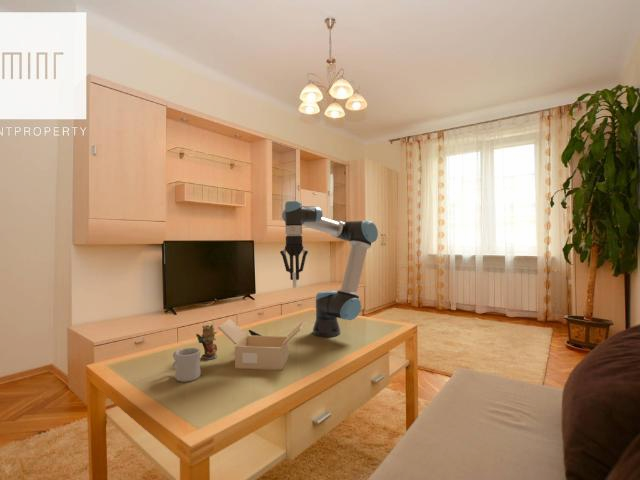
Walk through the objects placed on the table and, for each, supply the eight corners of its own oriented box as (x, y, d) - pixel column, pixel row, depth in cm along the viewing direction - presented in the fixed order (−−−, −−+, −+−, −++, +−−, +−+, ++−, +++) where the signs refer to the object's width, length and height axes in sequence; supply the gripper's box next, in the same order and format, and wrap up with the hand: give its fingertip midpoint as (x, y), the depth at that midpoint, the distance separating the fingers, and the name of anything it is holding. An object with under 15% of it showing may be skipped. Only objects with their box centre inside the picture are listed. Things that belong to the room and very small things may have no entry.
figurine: (221, 355, 150) (221, 322, 150) (210, 361, 143) (210, 327, 143) (204, 353, 153) (204, 320, 153) (192, 359, 146) (192, 325, 146)
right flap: (287, 335, 148) (303, 320, 148) (288, 336, 148) (304, 321, 147) (281, 345, 136) (299, 328, 135) (282, 346, 136) (300, 329, 135)
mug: (206, 375, 130) (205, 349, 130) (187, 384, 122) (187, 357, 121) (182, 369, 135) (182, 344, 135) (163, 378, 127) (163, 352, 127)
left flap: (245, 335, 150) (229, 319, 151) (246, 334, 150) (229, 318, 151) (235, 344, 137) (217, 327, 138) (236, 343, 137) (218, 326, 138)
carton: (246, 355, 151) (246, 335, 151) (288, 356, 150) (288, 336, 149) (235, 368, 136) (235, 346, 136) (281, 370, 135) (281, 348, 134)
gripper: (277, 235, 149) (279, 288, 150) (306, 235, 148) (308, 288, 148) (281, 235, 156) (282, 285, 157) (309, 234, 155) (310, 285, 156)
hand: (294, 286), depth 153 cm, fingers closed
